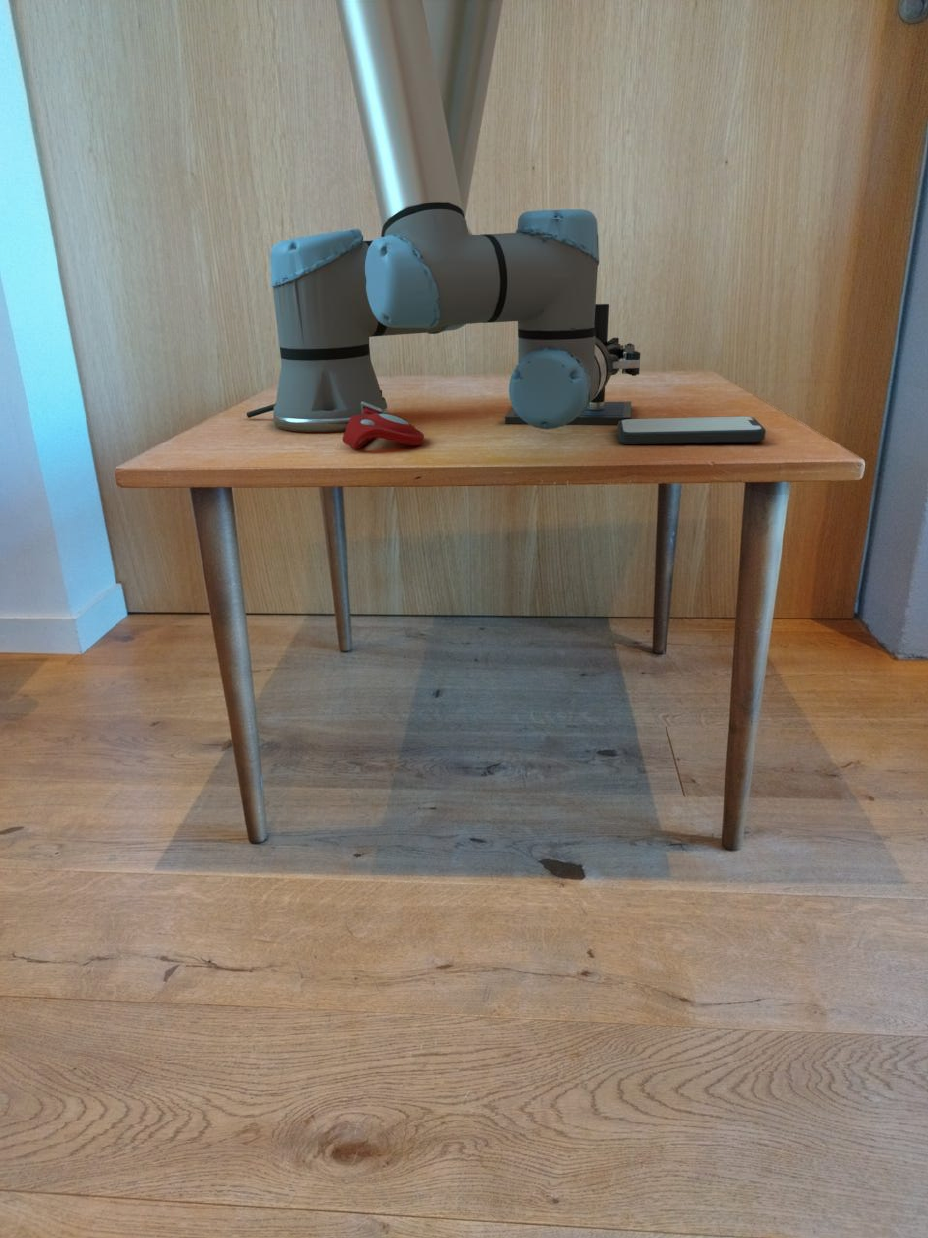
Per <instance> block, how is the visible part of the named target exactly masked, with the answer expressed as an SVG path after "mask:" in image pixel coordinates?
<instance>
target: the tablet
mask: <svg viewBox="0 0 928 1238" xmlns="http://www.w3.org/2000/svg"><path fill="white" fill-rule="evenodd" d="M604 402H605V405H604V409H603V410H587V409H585V411H583V412H582V415H580V416H579V417H578V418H577V419H575V420H573V421H572V422H570V423H567V424H566V425H615V426H618V422H619V421H620V420H626V419H632V401H604ZM504 424H506V425H529V424H528V423H526V422H525V421H524V420H522V419H521V418H520V417H519V416H518V414H517V413H516V412H515V410H514V408H513V407H512V408H511V409H510V410H509V411H508V412H507V414H506V415H505V417H504Z"/></svg>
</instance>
